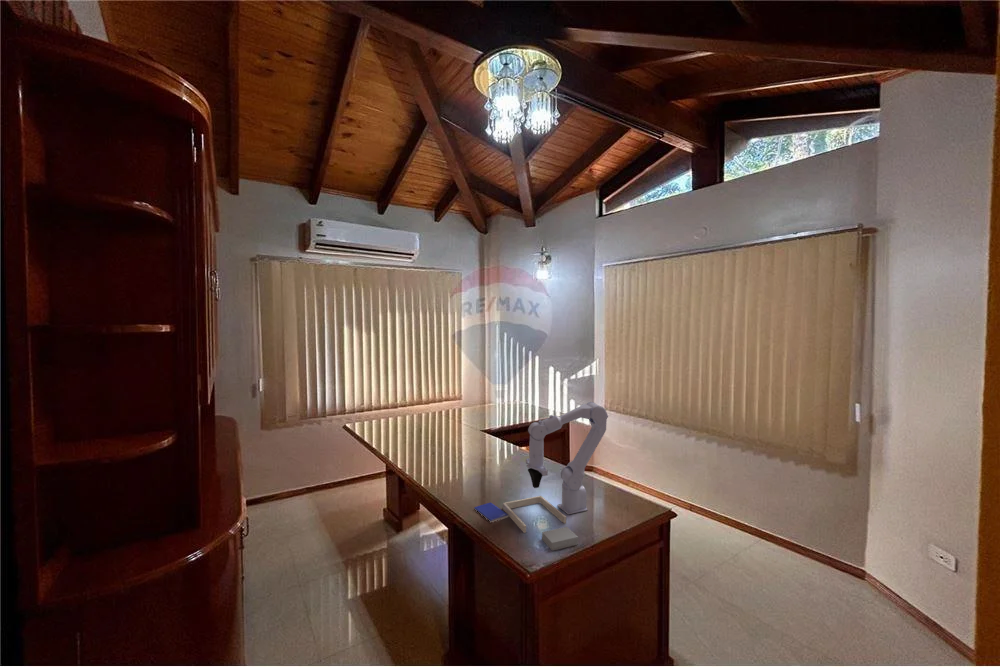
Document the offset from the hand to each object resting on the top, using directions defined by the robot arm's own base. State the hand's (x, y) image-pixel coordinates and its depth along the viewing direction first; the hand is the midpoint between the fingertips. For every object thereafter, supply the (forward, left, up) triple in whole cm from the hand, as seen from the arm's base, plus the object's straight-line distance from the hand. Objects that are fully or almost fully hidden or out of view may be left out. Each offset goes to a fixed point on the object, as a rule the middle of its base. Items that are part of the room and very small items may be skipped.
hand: (535, 487), depth 151 cm
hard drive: (+17, -5, -10) cm, 21 cm away
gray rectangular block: (+3, +23, -10) cm, 25 cm away
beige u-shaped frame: (+3, +4, -9) cm, 11 cm away
